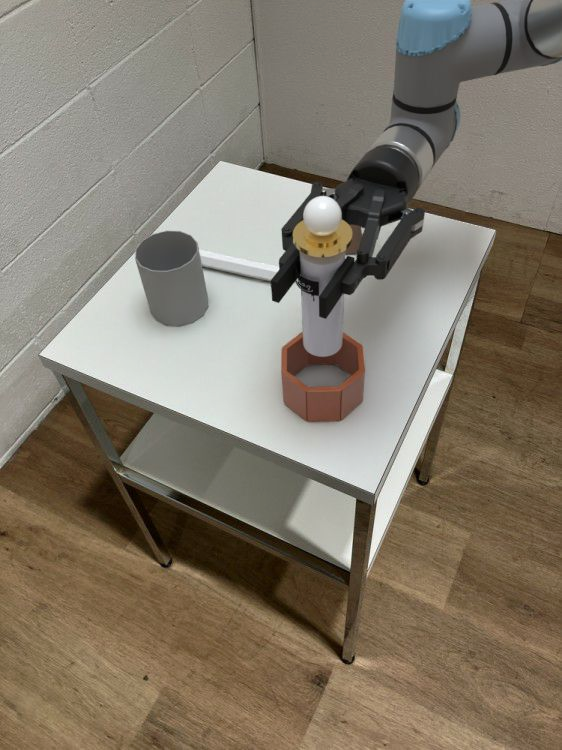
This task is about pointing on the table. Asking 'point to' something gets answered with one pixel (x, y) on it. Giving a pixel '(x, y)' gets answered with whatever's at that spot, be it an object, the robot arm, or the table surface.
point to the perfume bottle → (321, 272)
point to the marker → (238, 265)
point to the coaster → (354, 240)
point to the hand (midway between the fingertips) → (298, 299)
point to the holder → (322, 400)
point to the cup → (172, 277)
